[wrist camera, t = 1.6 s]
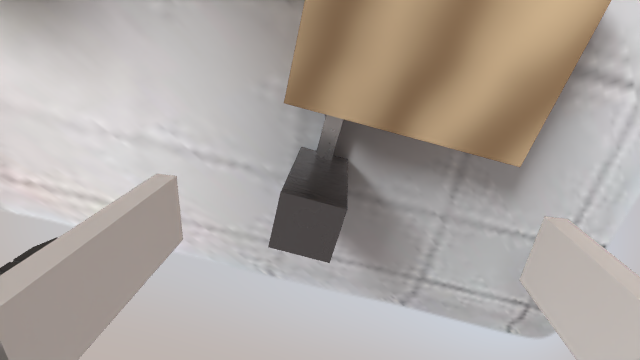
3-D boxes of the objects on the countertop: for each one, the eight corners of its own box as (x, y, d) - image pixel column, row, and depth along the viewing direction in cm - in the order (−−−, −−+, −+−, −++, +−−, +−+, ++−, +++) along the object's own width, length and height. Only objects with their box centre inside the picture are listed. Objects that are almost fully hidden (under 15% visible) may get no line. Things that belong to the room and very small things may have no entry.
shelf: (300, 87, 28) (283, 103, 21) (345, -112, 23) (343, -188, 15) (476, 135, 28) (520, 167, 21) (562, -50, 23) (662, -94, 16)
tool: (291, 188, 32) (268, 247, 23) (349, -53, 24) (349, -113, 15) (335, 200, 32) (329, 263, 23) (407, -37, 24) (443, -86, 15)
